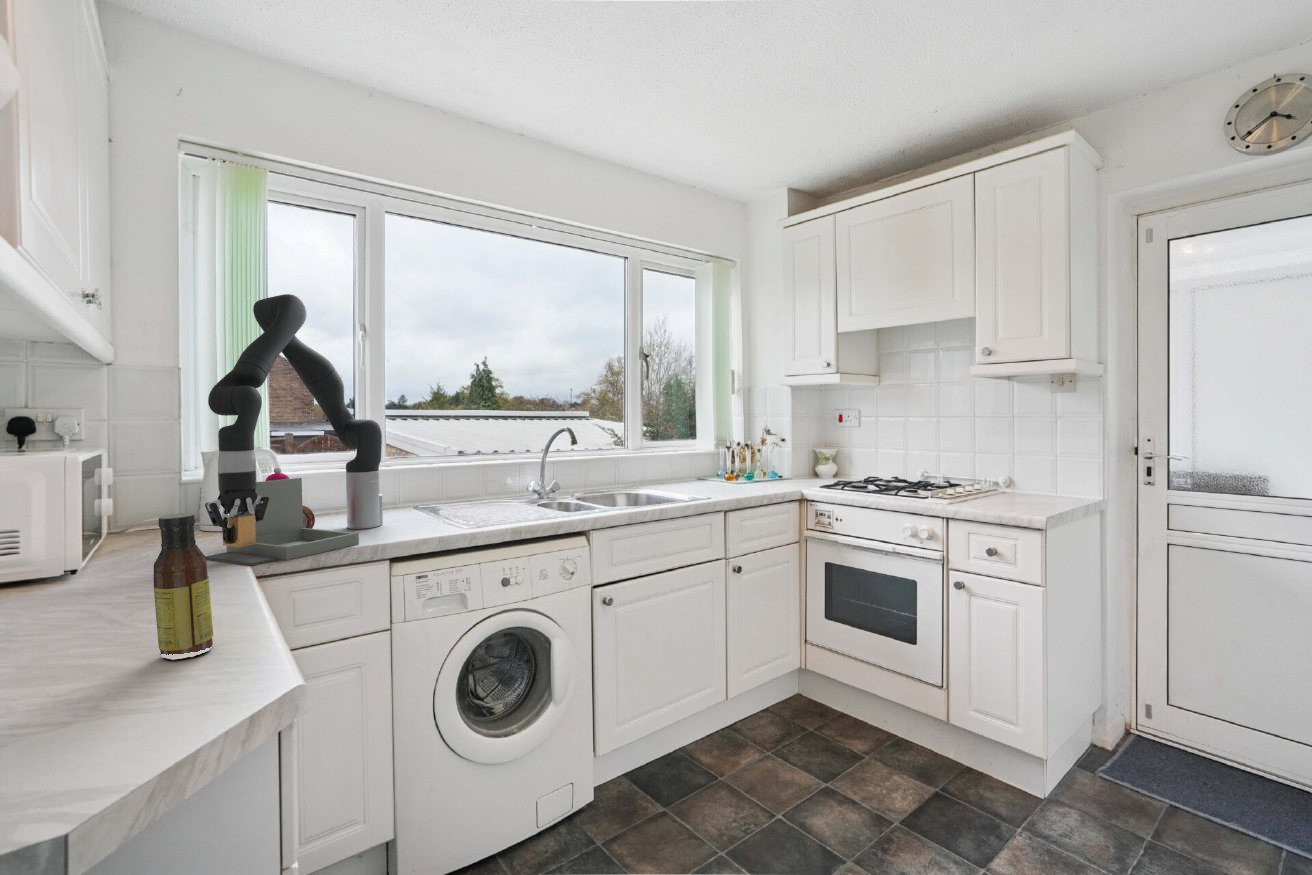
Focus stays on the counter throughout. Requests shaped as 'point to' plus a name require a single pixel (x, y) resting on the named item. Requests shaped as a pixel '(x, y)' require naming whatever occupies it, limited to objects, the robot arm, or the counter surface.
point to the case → (289, 525)
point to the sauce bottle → (181, 589)
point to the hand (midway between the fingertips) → (239, 541)
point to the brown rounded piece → (308, 518)
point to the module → (243, 530)
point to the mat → (240, 558)
